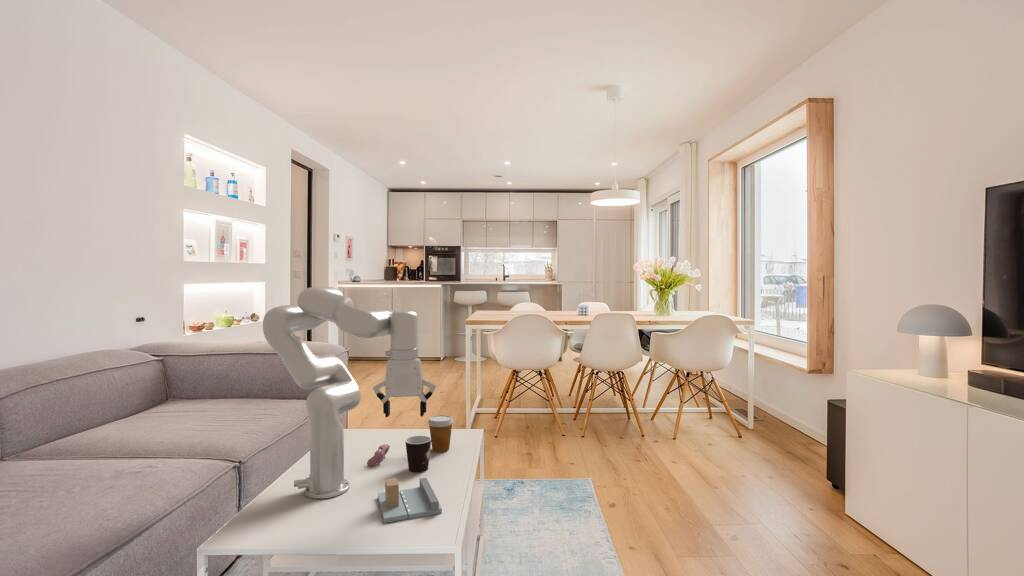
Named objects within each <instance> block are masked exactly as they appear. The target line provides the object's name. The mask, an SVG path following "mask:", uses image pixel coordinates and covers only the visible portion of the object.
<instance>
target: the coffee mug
mask: <svg viewBox="0 0 1024 576" xmlns="http://www.w3.org/2000/svg"><path fill="white" fill-rule="evenodd" d="M404 440H405V450H406V459H407V464H408V465H407V466H408V471H409V472H410V473H413V474H422V473H425V472H427V471H428V470H429V463H430V454H431V453H430V452H431V447H432V443H431V436H427V435H414V436H409V437H407V438H405V439H404Z"/></svg>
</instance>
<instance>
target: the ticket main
mask: <svg viewBox="0 0 1024 576" xmlns="http://www.w3.org/2000/svg"><path fill="white" fill-rule="evenodd" d="M399 492H400V495H401V498H402V501H403V503H404V506H405V509H406V512H407V518H408V519H407V520H410V519H416V518H421V517H428V516H433V515H438V514H442V513H443V508H442V506H441V504H440V500H439V499H438V498H437V496H436V494H435V492H434V489H433V487H432V486H431V484H430V482H429V480H428V478H427V477H421V478H419V486H417V487H412V488H411V487H410V488H405V489H401V490H399Z"/></svg>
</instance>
